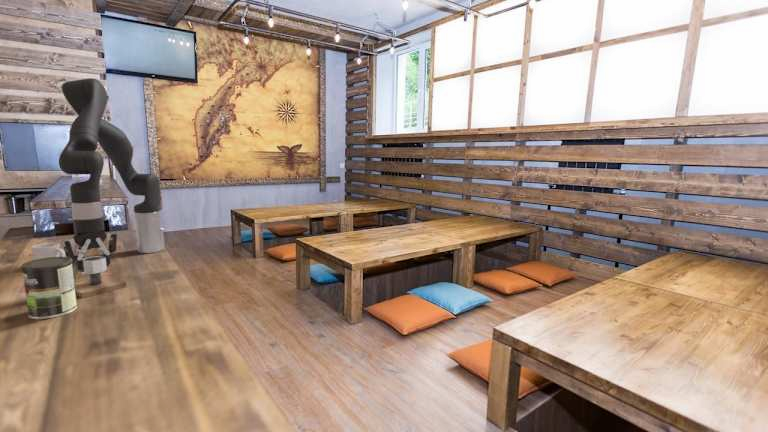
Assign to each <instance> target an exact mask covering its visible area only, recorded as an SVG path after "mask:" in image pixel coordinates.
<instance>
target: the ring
mask: <svg viewBox="0 0 768 432" xmlns="http://www.w3.org/2000/svg"><path fill="white" fill-rule="evenodd" d="M82 260H83V267H84V272H80V273H81V274H84V275H90V274H95V273H104V272H105V271H107V270H108V267H107V265H106V257H103V256H102V255H97V256H96V255H95V256H89V257H84V258H82Z"/></svg>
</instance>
